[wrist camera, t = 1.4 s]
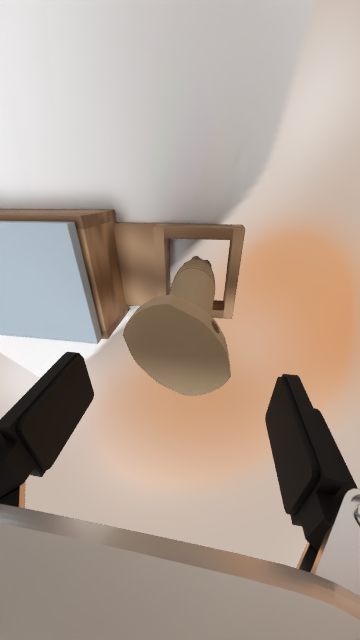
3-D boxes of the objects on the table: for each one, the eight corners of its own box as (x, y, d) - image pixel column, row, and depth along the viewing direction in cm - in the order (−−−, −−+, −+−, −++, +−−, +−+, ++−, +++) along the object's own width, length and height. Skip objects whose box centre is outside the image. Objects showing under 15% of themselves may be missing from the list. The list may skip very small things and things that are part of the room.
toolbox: (-49, 208, 25) (-126, 213, 19) (244, 210, 20) (254, 217, 15) (-3, 301, 31) (-50, 325, 25) (229, 317, 27) (233, 350, 21)
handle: (197, 301, 26) (179, 404, 13) (164, 259, 24) (106, 334, 11) (231, 279, 24) (248, 377, 11) (198, 231, 22) (175, 286, 9)
